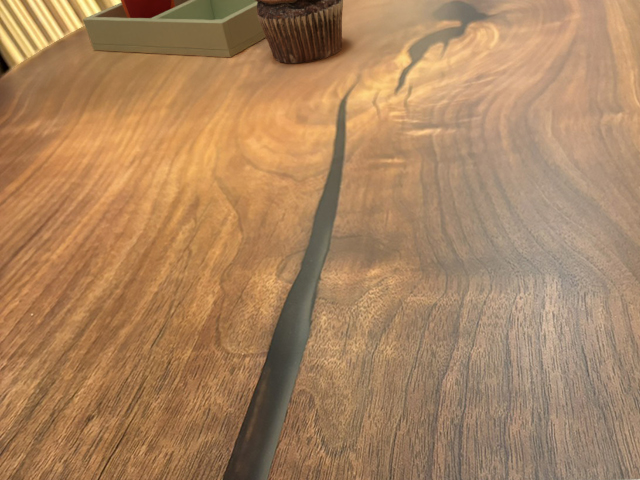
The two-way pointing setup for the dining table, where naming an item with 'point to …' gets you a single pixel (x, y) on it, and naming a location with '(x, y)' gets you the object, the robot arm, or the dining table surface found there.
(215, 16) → the holder
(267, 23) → the cupcake
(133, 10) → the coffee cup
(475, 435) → the dining table surface
